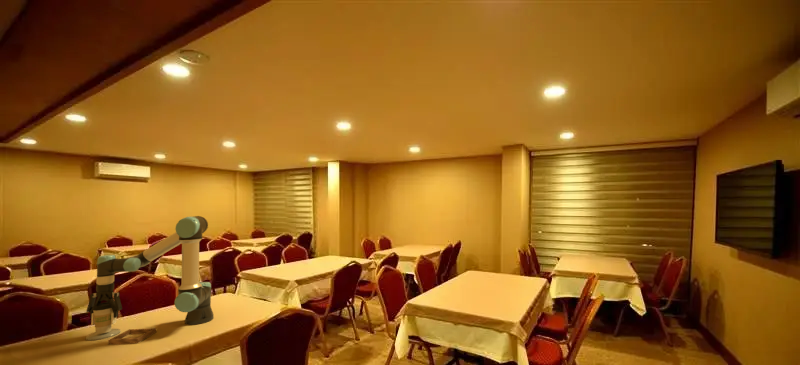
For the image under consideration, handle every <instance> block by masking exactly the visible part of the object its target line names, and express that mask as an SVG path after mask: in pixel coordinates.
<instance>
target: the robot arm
mask: <svg viewBox="0 0 800 365" xmlns="http://www.w3.org/2000/svg"><path fill="white" fill-rule="evenodd" d="M208 228H209V222H208V220H207V219H206V218H205V217H203V216H200V215H195V216H186V217H183V218H181V219H179V221H177V223H176V225H175V229H174V230H175V232H174V233H172V234H170V235H169V236H167V237H165V238H164V239H162V240H161V241H159V242H157V243H155V244H154V245H152V246H150V247H149V248H147V249H144V251H141V252H140V253H138V254H136V255H133V256H130V257H124V258H123V257H122V258H117V257H116V255H115V254H105V255H100V256H98V258H97V262H96V280H95V281H96V286H95V291H96V292H94V293H90V295H89V298H90V299H89V302H88V305H87V308H86V310H85V311H86V313H89V314H90V318H89V319H91V320H90V322H91V326H95V323H94V312H93V310H92V309H93V308H94V305H98V304H100V303H102V302H103V301H105V302H108V303H109V304H110V305H111V307H112V310H113V312H112V314H111V325H112V326H113V325H115V324H117V319H118V317H119V311H121V310H123V306H122V303H121V299H120V298H121V297H120V294H121V293H120V291H118V292H114V289H115V273H122V272H124V273H127V272H128V273H132V272H136V271H139V269H140V268H143V267H146V266H147V265H149V264H150V263H151V262H153V261H154V260H156V259H157V258H159V257H161V256H162V255H165V254H166V253H167V252H169V251H171V250H172V249H174V248H176V247H178V246H180V245H181V285H180V286H179V287H177V288H178V289H177V290H178V291H177V294H178V295H177V296H176V297H175V299H174V307H175V308H176V310H178V311H179V312H180V313H181V312H182V313H186V315H185V317H184V318H185V319H184V323H185V325H188V326H190V325H191V326H192V325H200V324H201V325H202V324H204V323H208V322H210V321H213V320H214V312H213V310H212V306H211V300H212V296H211V295H212V294H211V293H212V283H211V282H209V281H203V282H202V281H201V282H200V242H201V241H202V240H203V234H204V233H206V231H207V230H208Z"/></svg>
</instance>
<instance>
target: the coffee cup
mask: <svg viewBox="0 0 800 365" xmlns="http://www.w3.org/2000/svg"><path fill="white" fill-rule="evenodd" d="M92 310H93V312H94V323H95V325H94V328H95V332H96V334H102V333H106V332H109V331H111V329H112V327H113V324H112V325H111V314H112V312H113V310H112V307H111V305H110V304H109V303H108V302H107V301H105V302H101V303H100V304H98V305H94V308H93V309H92Z"/></svg>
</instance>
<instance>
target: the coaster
mask: <svg viewBox="0 0 800 365" xmlns="http://www.w3.org/2000/svg"><path fill="white" fill-rule="evenodd" d="M120 332H121V329H120V328H111V331H109V332H106V333H102V334H96V331H94V332H91V333H89V334H87V335H86V336H85V340H86V341H91V342H92V341H99V340H104V339H108V338H109V339H110V338H113V337H116V336H117V335H119V334H121V333H120Z"/></svg>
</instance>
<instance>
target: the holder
mask: <svg viewBox="0 0 800 365" xmlns="http://www.w3.org/2000/svg"><path fill="white" fill-rule="evenodd" d="M155 333H157V328H155V327H151V328H131V329H127V330H125V331H124V332H121V333H119V334H117V335H115V336H113V337H111V338H109V339H108V345H120V344H121V345H125V344H139V343H141V342H142V341H144V340H146V339H147V338H149V337H151V336H152V335H155ZM139 334H142V335H140V336H138V337H127V336H129V335H139ZM125 337H127V338H125Z"/></svg>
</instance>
